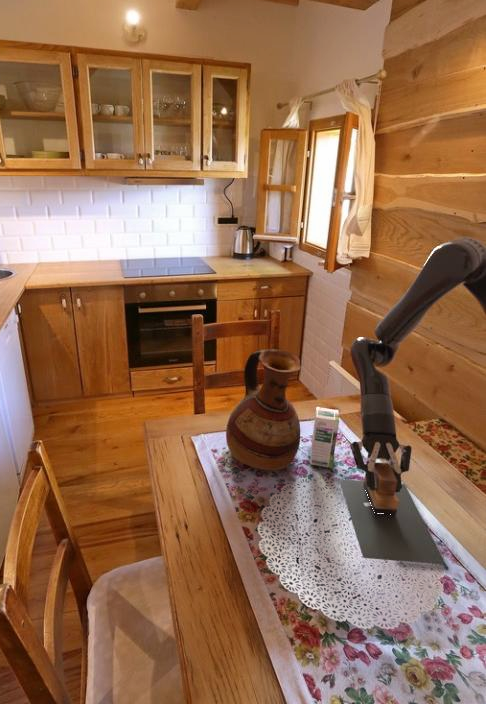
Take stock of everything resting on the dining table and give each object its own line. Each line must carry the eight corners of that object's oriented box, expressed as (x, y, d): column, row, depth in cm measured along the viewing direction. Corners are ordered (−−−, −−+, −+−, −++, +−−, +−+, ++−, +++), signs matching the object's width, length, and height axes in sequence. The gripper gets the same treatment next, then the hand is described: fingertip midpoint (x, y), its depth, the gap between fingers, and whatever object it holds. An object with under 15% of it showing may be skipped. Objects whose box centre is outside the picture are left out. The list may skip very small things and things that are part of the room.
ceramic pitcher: (261, 490, 97) (271, 379, 87) (209, 447, 112) (213, 348, 102) (313, 458, 109) (327, 357, 99) (260, 423, 124) (267, 332, 113)
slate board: (403, 486, 100) (404, 484, 100) (445, 567, 80) (446, 564, 79) (338, 481, 101) (339, 479, 101) (362, 560, 80) (363, 557, 80)
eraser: (383, 486, 99) (389, 459, 96) (395, 515, 90) (402, 486, 88) (363, 484, 99) (368, 457, 96) (374, 513, 91) (380, 484, 88)
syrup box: (309, 464, 107) (316, 417, 102) (310, 451, 112) (316, 405, 107) (331, 469, 105) (339, 421, 100) (331, 454, 111) (338, 408, 106)
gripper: (352, 410, 96) (357, 487, 88) (413, 414, 95) (424, 492, 88) (343, 416, 103) (348, 489, 95) (401, 420, 102) (410, 494, 95)
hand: (384, 490), depth 92 cm, fingers closed on eraser, 4 cm apart
